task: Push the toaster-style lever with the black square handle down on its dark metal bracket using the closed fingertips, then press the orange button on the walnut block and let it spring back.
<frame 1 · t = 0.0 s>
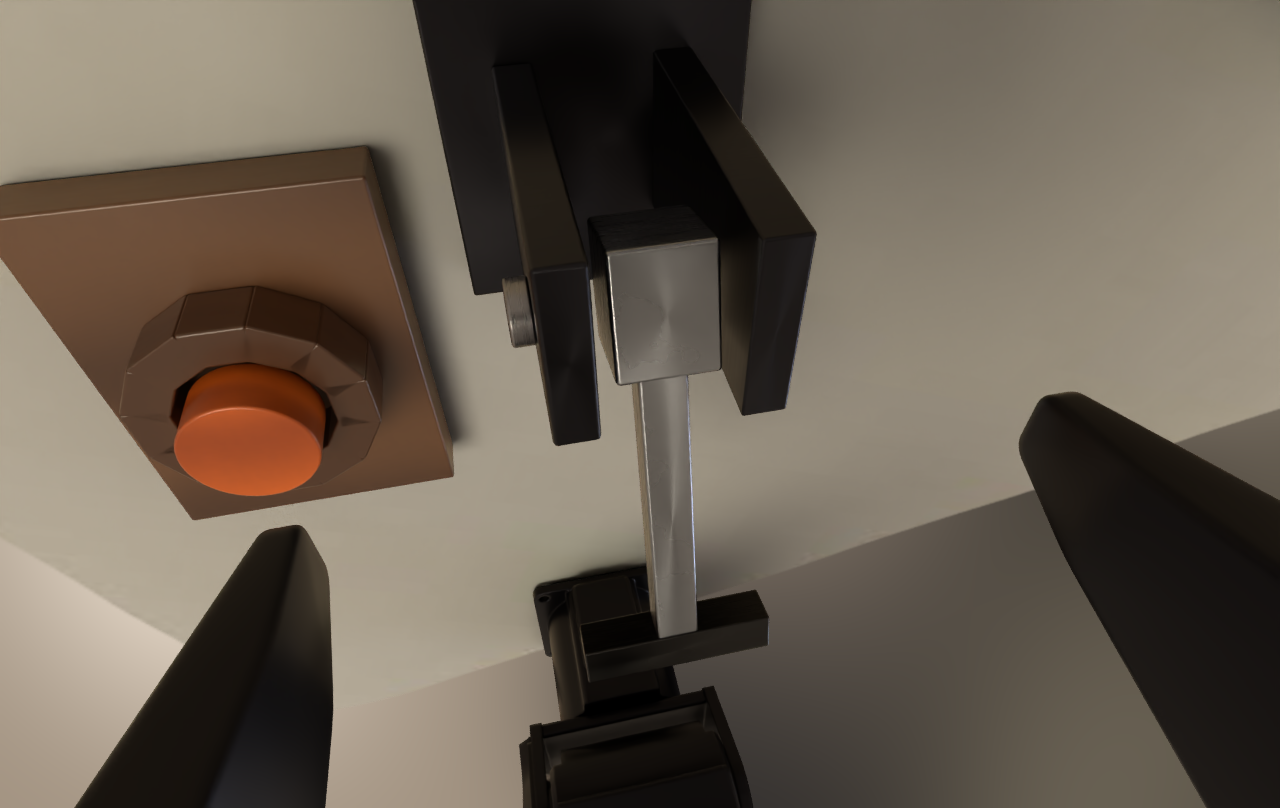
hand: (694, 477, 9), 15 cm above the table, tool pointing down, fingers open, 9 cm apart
button block: (272, 340, 24), on the table
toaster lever: (664, 473, 18), point 9 cm above the table, hinge at 15.0°
cancel button: (254, 431, 21), point 4 cm above the table, slide at 0.1 cm
lever bracket: (590, 120, 21), on the table
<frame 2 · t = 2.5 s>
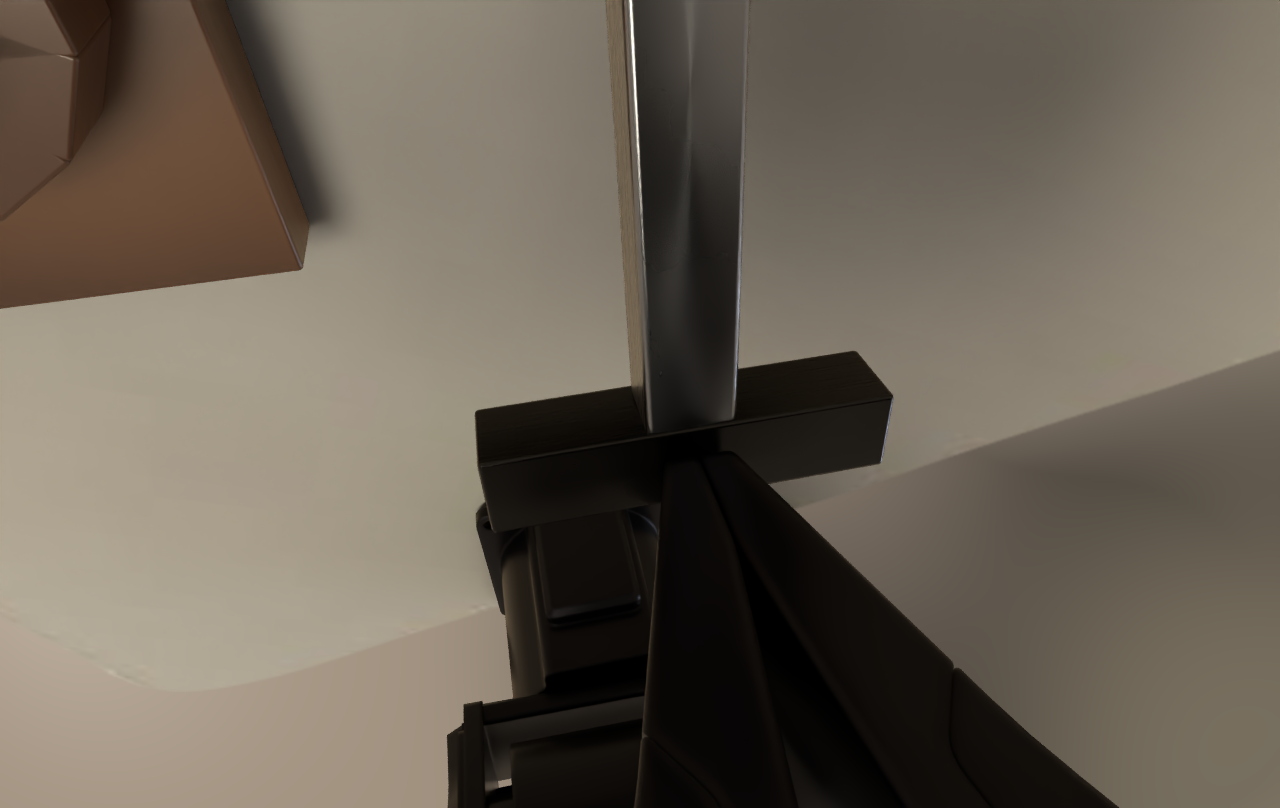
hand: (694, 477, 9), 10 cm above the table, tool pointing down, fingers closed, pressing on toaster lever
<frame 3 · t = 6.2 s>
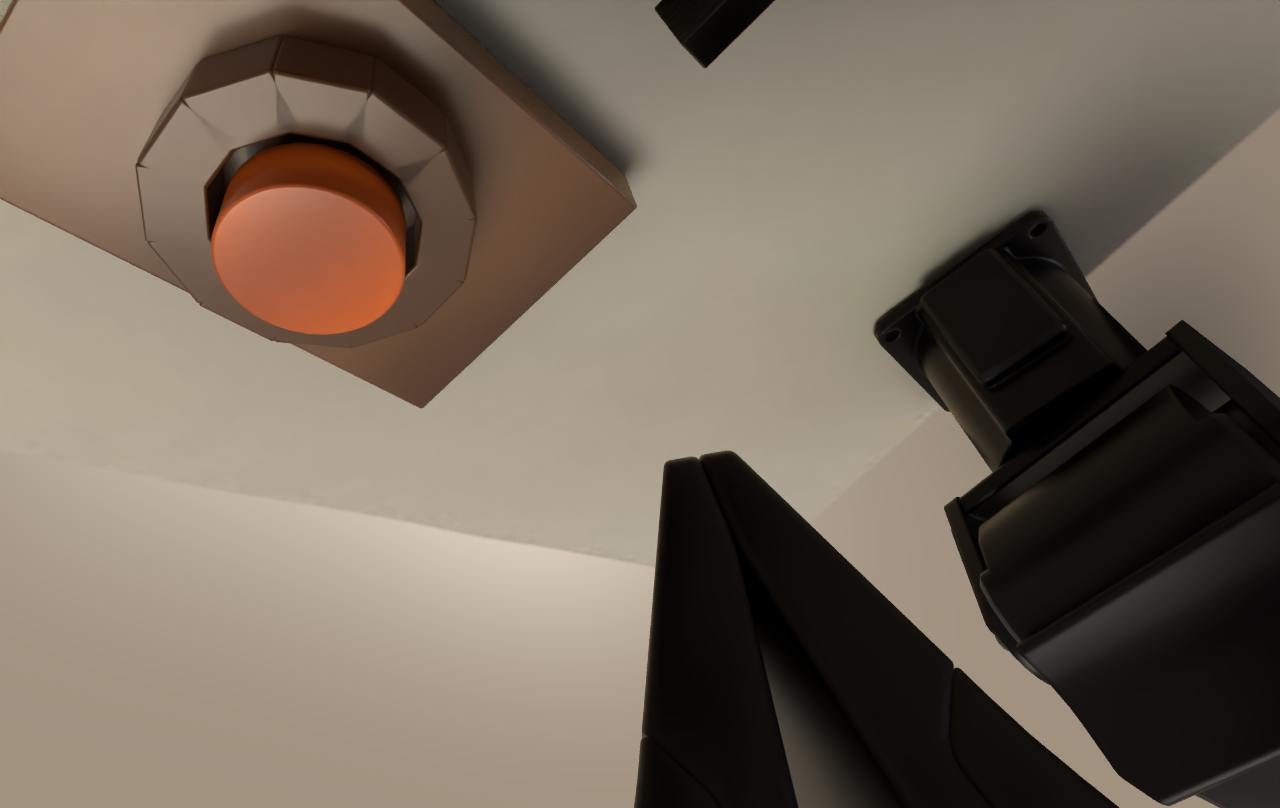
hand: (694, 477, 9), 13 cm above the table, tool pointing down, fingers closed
button block: (329, 153, 19), on the table
cancel button: (315, 242, 16), point 4 cm above the table, slide at 0.1 cm
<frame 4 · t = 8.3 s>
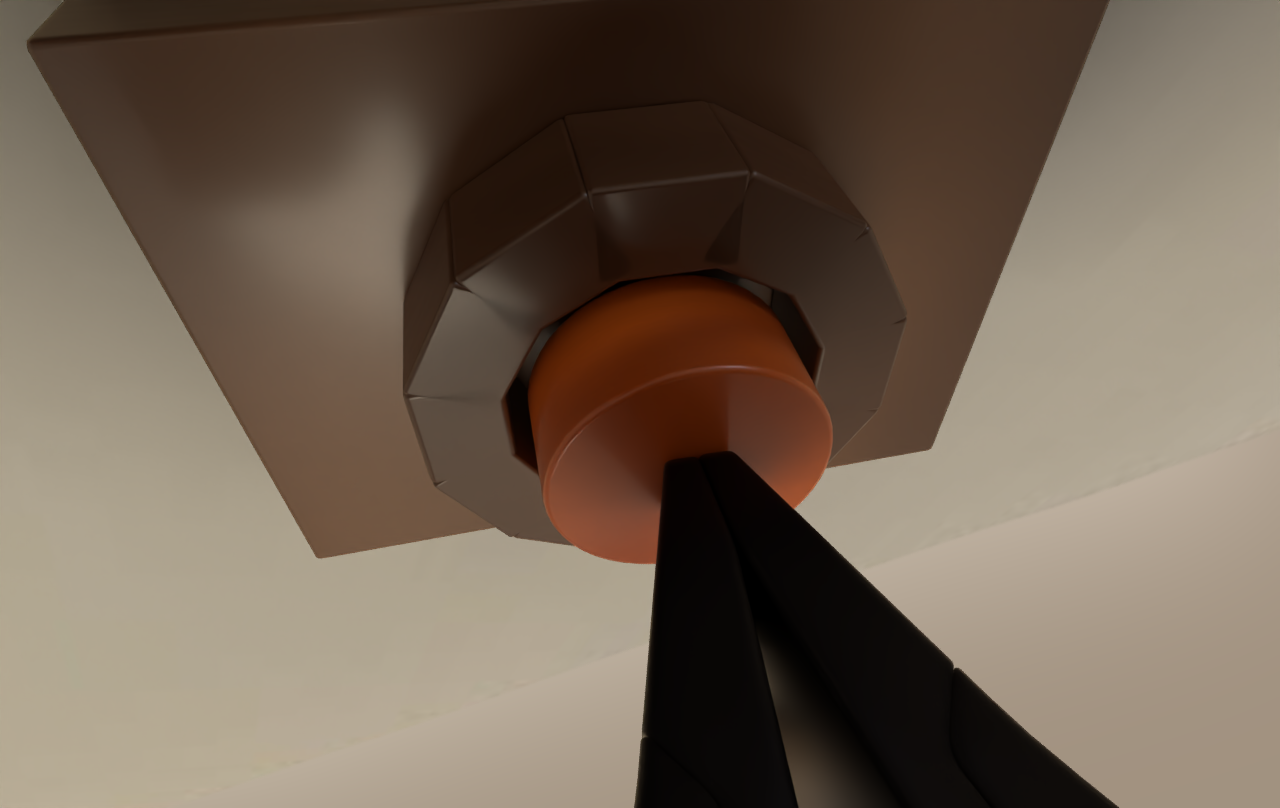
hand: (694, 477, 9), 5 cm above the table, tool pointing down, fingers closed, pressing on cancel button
button block: (617, 255, 12), on the table
cancel button: (675, 428, 10), point 4 cm above the table, slide at 0.1 cm, touching gripper
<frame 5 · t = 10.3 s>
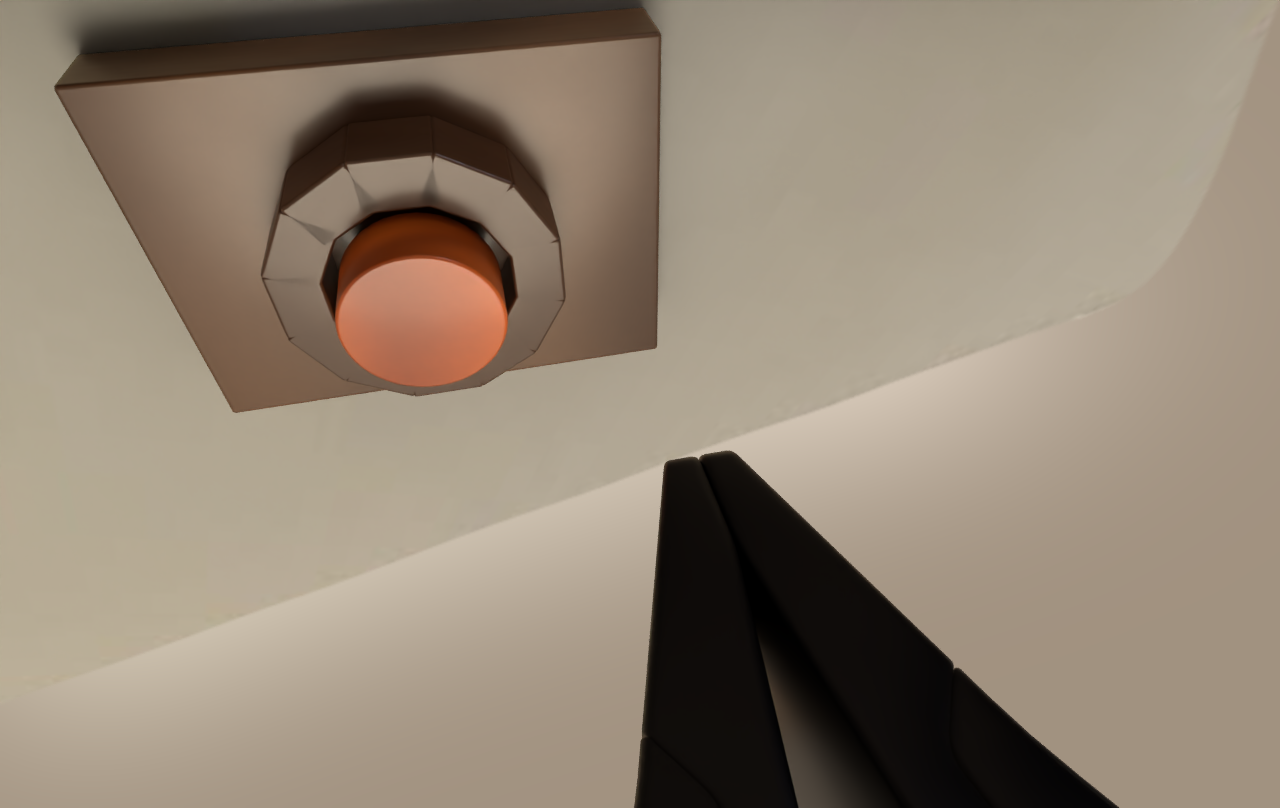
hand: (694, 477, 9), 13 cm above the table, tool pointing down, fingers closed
button block: (419, 211, 20), on the table
cancel button: (423, 302, 17), point 4 cm above the table, slide at 0.1 cm
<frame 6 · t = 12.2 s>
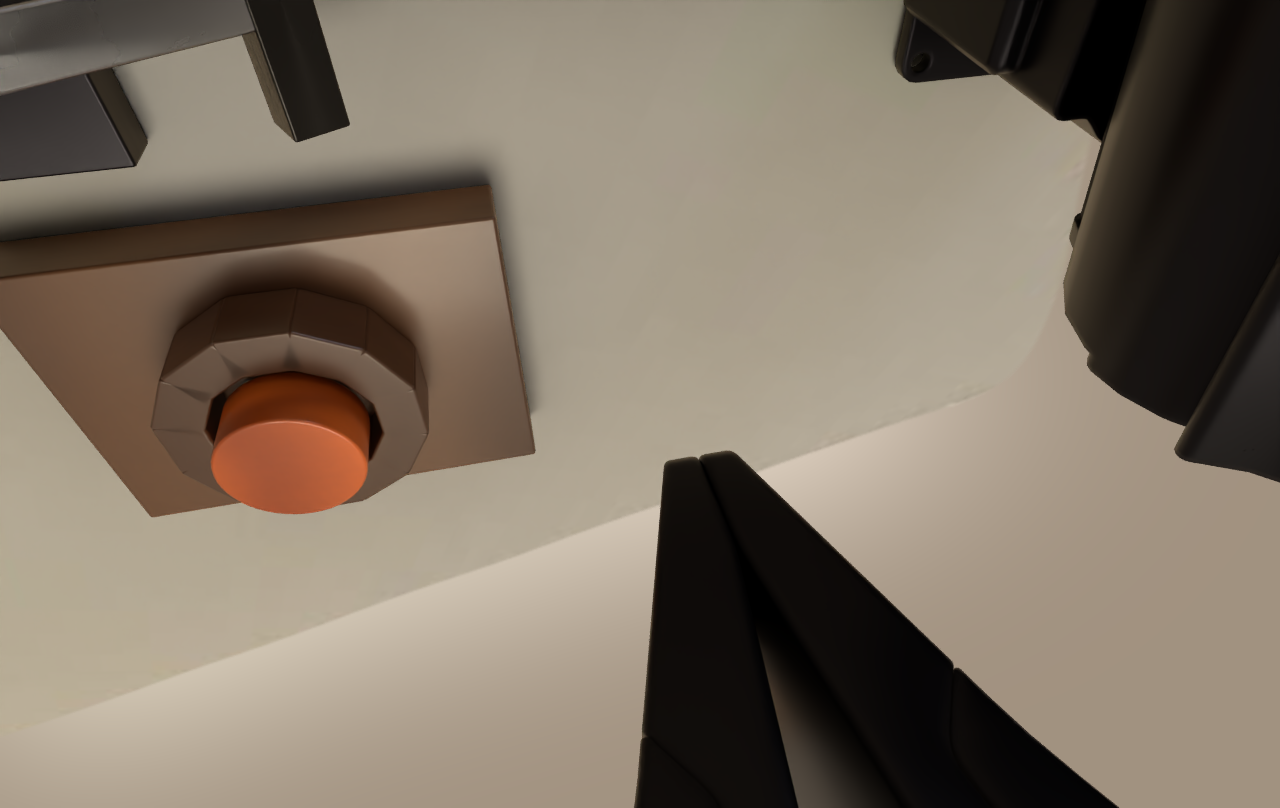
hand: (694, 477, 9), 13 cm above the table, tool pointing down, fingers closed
button block: (309, 345, 22), on the table
cancel button: (295, 445, 20), point 4 cm above the table, slide at 0.1 cm
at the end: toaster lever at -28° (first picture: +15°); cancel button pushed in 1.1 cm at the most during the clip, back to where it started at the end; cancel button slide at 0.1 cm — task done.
